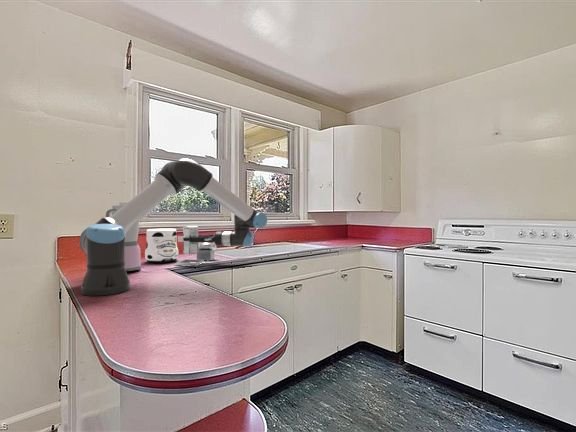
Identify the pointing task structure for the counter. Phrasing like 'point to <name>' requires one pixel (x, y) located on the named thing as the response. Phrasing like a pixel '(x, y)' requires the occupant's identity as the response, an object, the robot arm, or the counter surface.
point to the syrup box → (190, 246)
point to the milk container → (161, 245)
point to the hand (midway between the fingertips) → (181, 238)
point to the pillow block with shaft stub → (206, 251)
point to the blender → (129, 243)
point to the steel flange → (187, 262)
